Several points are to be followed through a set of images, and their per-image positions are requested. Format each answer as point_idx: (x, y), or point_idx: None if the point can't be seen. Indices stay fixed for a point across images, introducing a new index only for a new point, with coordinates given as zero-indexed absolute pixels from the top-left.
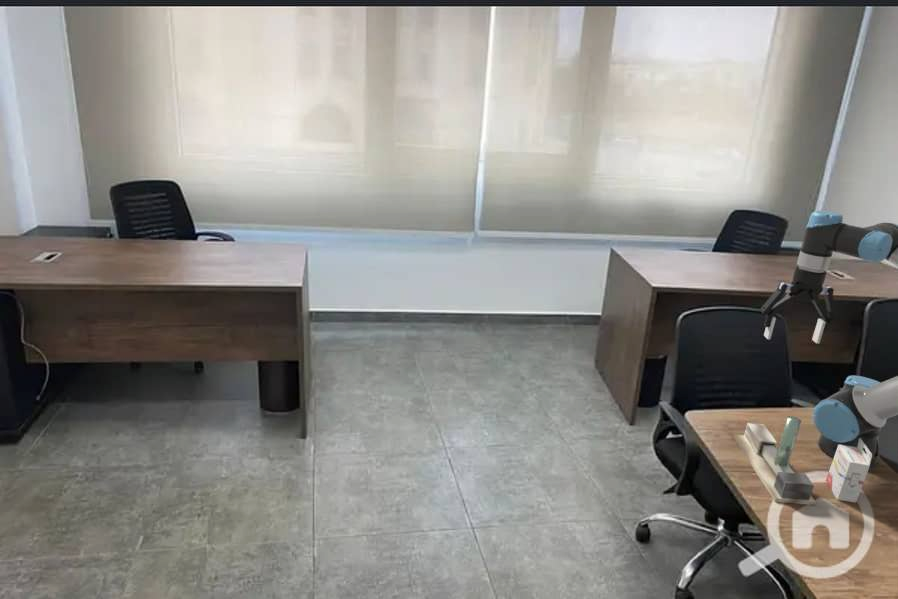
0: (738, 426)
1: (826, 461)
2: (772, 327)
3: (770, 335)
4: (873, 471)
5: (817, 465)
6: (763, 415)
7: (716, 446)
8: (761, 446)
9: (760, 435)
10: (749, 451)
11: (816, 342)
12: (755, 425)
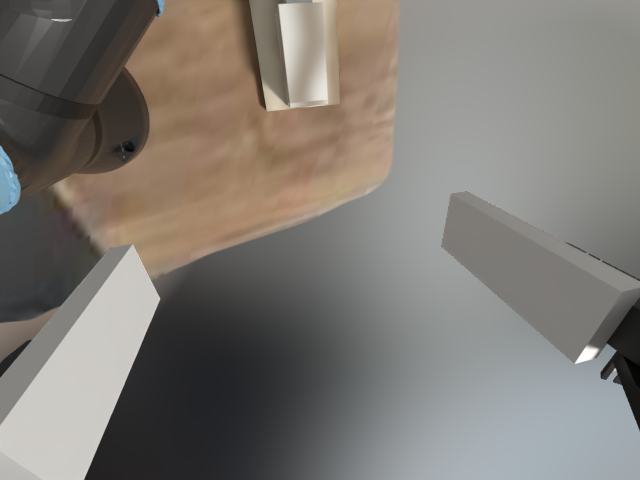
0: (314, 154)
1: None
2: (529, 231)
3: (474, 203)
4: None
5: None
6: (252, 216)
7: (385, 48)
8: None
9: (314, 37)
10: (326, 25)
11: (132, 251)
12: (312, 94)
